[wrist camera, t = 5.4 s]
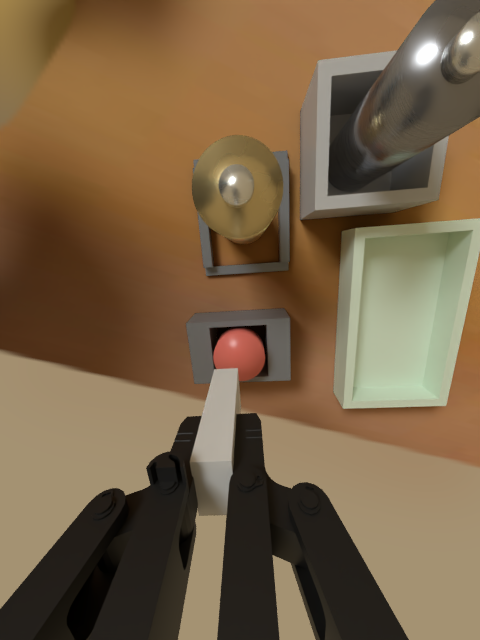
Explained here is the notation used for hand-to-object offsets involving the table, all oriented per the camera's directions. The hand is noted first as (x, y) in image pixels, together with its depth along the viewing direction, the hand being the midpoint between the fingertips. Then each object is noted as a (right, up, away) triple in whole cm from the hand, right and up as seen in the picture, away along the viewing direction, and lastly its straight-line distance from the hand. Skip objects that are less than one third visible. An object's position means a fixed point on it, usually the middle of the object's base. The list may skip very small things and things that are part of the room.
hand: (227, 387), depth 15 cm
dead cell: (+10, +17, +4) cm, 20 cm away
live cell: (+1, +13, +6) cm, 15 cm away
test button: (+1, +2, +7) cm, 7 cm away
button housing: (+1, +2, +9) cm, 10 cm away
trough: (+15, +5, +8) cm, 18 cm away
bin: (+10, +17, +4) cm, 20 cm away
